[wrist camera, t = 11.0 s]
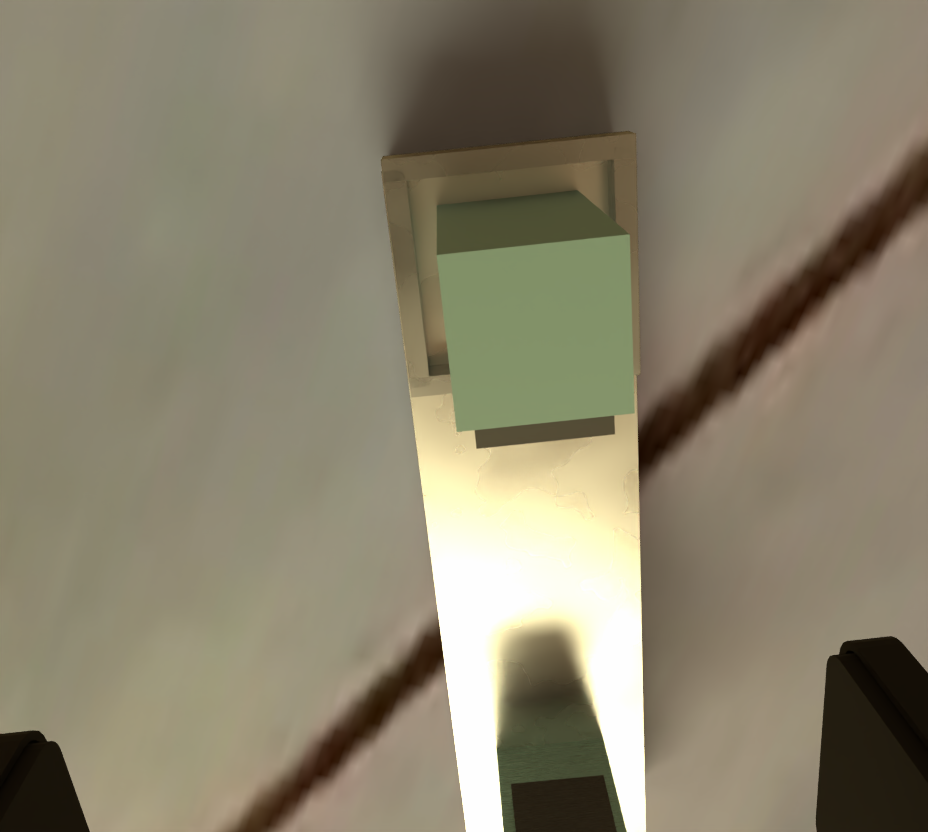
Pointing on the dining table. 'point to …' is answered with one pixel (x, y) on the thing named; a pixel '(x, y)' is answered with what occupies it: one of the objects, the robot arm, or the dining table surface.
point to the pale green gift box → (536, 317)
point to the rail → (528, 528)
